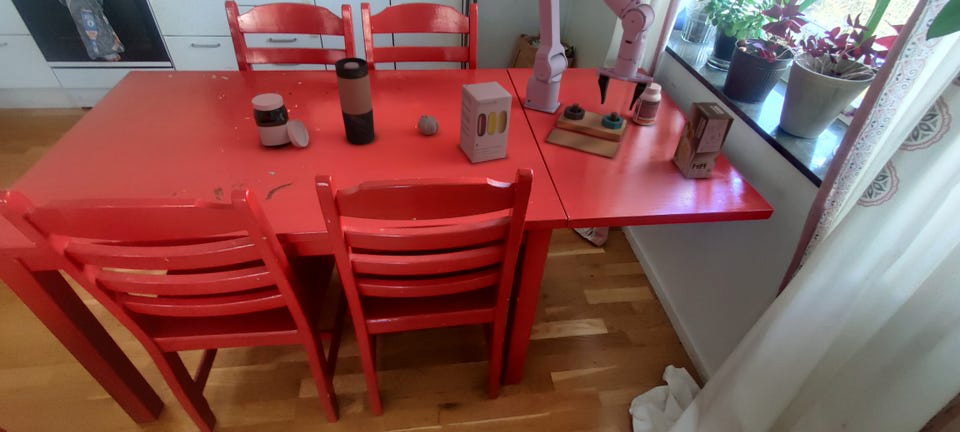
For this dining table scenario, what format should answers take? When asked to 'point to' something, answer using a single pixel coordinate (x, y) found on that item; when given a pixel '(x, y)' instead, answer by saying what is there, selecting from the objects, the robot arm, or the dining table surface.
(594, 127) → the peg board
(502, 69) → the dining table surface
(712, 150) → the coffee box
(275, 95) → the spread jar
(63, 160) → the dining table surface
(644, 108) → the pill bottle
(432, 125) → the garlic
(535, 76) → the robot arm
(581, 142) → the cork mat
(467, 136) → the supplement box
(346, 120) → the travel mug
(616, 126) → the teal ring
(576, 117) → the charcoal ring
